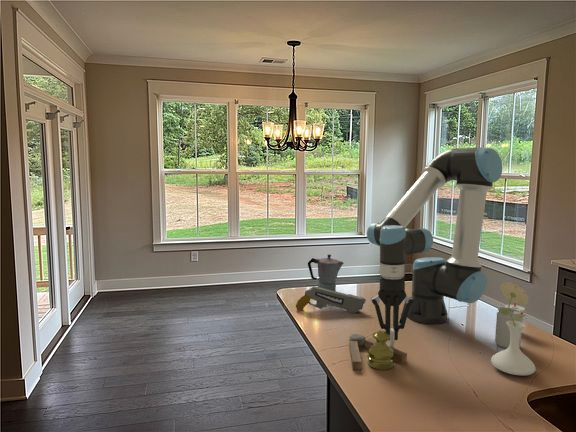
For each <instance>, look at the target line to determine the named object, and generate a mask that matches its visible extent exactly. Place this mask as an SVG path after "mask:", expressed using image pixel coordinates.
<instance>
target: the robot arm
mask: <svg viewBox="0 0 576 432" xmlns="http://www.w3.org/2000/svg"><path fill="white" fill-rule="evenodd" d="M420 173H421V175H420V176H419V177H418V179H417V180H416V181H415V182H414V184H413V185H412V186H411V187H409V189H408V190H407V191H406V193H405V194H404V195H403V196H402V197H401V199H399V201H398V202H397V203H396V204H395V205H394V207H393V208H392V209H391V210H390V211H389V212H388V214H386V216H385V217H384V218H383V220H382V221H381V222H373V223H371V224H370V225H369V226H368V228H367V231H366V238H367V241H368V242H369V243H371V244H373V245H376V246H378V247H379V275H380V276H379V290H378V292H377V295H375V296H372V297H371V298H370V301H371V302H372V304H373V305H374V308H375V313H376V315H377V321H378V325H379V327H380V329H381V330H385V331H384V332H385V333H387V334H389V335H390V339H389V340H388V346H390V347H393V348H395V341H398V339H399V331H400V330H403V329H404V328H405V326H406V323H407V318H409V319H410V320H412V321H415V322H419V323H421V324H423V323H424V324H429V325H431V324H433V325H436V324H443V323H445V322H447V321H448V311H447V307H446V304H445V303H446V302H445V299H444V297H445V298H449V299H453V300H456V301H458V302H461V303H466V304H474V303H476V302H478V301H479V300H480V299H481V298H482V296H483V295H484V294H485V291H486V290H487V289H486V288H487V287H488V286H487V285H488V279H487V275H486V273H484V271H482V264H481V262H479V260H478V259H479V251H480V244H481V238H482V237H481V236H482V231H483V229H482V228H483V224H484V223H483V222H484V216H485V215H484V214H485V208H486V207H485V206H486V201H487V193H488V192H490V190H492V189H493V184H494V183H496V182H498V181H499V180H500V179H501V176H502V174H503V162H502V158H501V156H500V153H499V152H498V151H497V150H496V149H494V148H491V147H483V146H481V147H465V148H463V147H462V148H460V147H459V148H450V149H447V150H445V151H443V152H441V153H440V154H438V155H437V156H435V157H433V159H431V160H430V161H429V162H428V163H427V164H426V165H425V166H424V168H422V170H421V172H420ZM452 181H456V183H455V185H456V186H457V188H458V189H459V195H458V196H459V198H458V204H457V211H456V218H455V219H456V220H455V226H454V236H453V242H452V243H453V244H452V251H451V256H450V257H449V258H448V259H445V258H444V257H435V256H434V257H420V258H417V259H415V260H414V261H413V266H412V281H411V283H412V284H411V285H412V287H411V296H408V295H407V293H406V285H405V284H406V278H405V275H406V256H408V255H413V254H420V253H423V252H427V251H429V250H430V249H431V248H432V247H433V244H434V237H433V234H432V232H431V231H430V230H428V229H427V228H425V227H424V228H423V227H422V228H421V227H418V228H408V227H407V226H408V225H409V224H410V223H411V222H412V220H413V219H414V217H416V215H417V214H418V213H419V212H420V210H421V209H422V208H423V207H424V206H425V205H426V203H427V202H428V201H429V200H430V199H431V198H432V196H433V195H434V194H435V193H436V191H437V190H438V189H441V188H443V187H444V186H445V185H446V184H447V183H448V182H452ZM380 300H381V302H382V303H383V304H384V307H385V308H384V314H385V315H384V319H383V315H382V312H381V307H380V305H379V303H380ZM403 301H404V304H403V307H402V309H401V310H402V312H401V314H400V318H399V312H400V306H401V304H402V303H403ZM391 308H393V309H392V327H391ZM384 321H385V322H384Z"/></svg>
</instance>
